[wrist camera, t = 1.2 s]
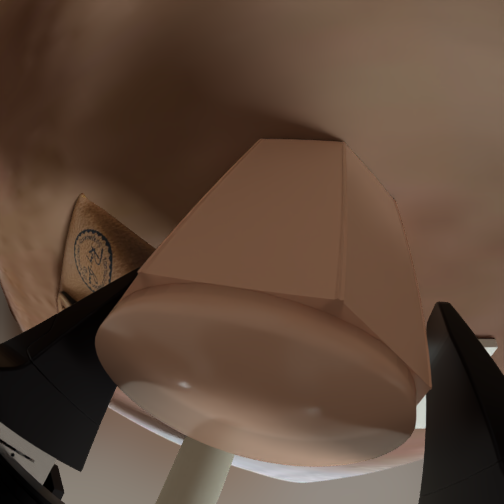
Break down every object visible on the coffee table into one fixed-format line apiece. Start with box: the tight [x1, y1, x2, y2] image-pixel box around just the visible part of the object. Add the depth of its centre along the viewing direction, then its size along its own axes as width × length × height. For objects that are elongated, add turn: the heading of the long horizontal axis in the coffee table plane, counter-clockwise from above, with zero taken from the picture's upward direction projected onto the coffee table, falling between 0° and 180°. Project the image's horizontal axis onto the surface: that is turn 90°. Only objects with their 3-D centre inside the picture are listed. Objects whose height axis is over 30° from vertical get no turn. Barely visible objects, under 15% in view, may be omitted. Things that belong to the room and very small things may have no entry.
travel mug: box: [156, 436, 234, 504], centre depth 31 cm, size 8×8×18 cm
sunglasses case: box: [57, 193, 156, 313], centre depth 19 cm, size 18×7×7 cm
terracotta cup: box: [95, 138, 432, 467], centre depth 9 cm, size 7×7×8 cm
